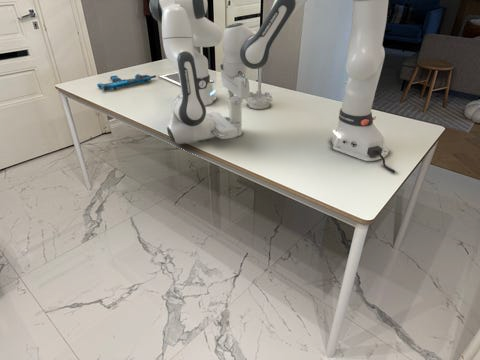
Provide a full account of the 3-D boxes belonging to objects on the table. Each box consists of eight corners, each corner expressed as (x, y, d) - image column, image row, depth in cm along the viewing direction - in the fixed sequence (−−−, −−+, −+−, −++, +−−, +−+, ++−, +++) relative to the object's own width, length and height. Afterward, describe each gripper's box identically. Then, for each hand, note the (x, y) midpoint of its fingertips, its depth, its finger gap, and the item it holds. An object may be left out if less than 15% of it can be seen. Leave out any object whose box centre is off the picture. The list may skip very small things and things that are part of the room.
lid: (240, 99, 143) (240, 95, 142) (244, 103, 138) (244, 100, 137) (226, 100, 141) (226, 96, 141) (230, 105, 137) (230, 101, 136)
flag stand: (265, 99, 183) (267, 40, 167) (275, 107, 173) (279, 45, 156) (242, 102, 179) (242, 42, 163) (252, 111, 169) (253, 48, 152)
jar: (239, 130, 150) (239, 96, 142) (242, 135, 146) (242, 100, 138) (228, 131, 149) (227, 97, 141) (231, 136, 145) (230, 101, 137)
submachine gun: (141, 68, 224) (160, 75, 207) (142, 74, 226) (161, 81, 209) (89, 78, 205) (105, 86, 189) (91, 85, 207) (107, 93, 191)
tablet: (158, 76, 219) (158, 76, 219) (185, 70, 230) (185, 70, 230) (186, 88, 199) (186, 87, 198) (213, 81, 210) (213, 81, 209)
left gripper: (217, 130, 130) (248, 123, 135) (198, 112, 146) (227, 107, 151) (217, 144, 134) (248, 137, 139) (199, 125, 149) (227, 120, 154)
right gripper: (253, 74, 125) (253, 110, 133) (232, 61, 141) (232, 94, 149) (238, 76, 123) (238, 112, 131) (218, 63, 139) (219, 96, 147)
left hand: (237, 121), depth 145 cm, fingers closed on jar, 5 cm apart
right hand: (235, 102), depth 140 cm, fingers open, 6 cm apart
